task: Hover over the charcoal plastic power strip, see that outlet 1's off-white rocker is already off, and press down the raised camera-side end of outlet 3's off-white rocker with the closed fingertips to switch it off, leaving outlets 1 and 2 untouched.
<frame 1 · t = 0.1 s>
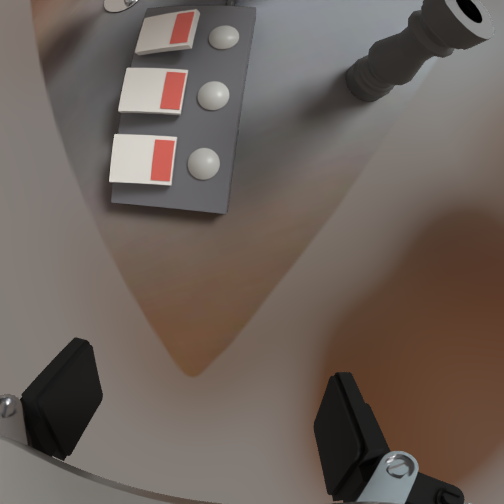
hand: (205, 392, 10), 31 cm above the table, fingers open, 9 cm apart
rocker 2: (153, 90, 30), point 5 cm above the table, hinge at -12.0°
candle holder: (364, 82, 35), on the table
rocker 3: (142, 159, 33), point 5 cm above the table, hinge at -12.0°
rocker 1: (166, 31, 28), point 5 cm above the table, hinge at 12.0°
power strip: (184, 100, 35), on the table
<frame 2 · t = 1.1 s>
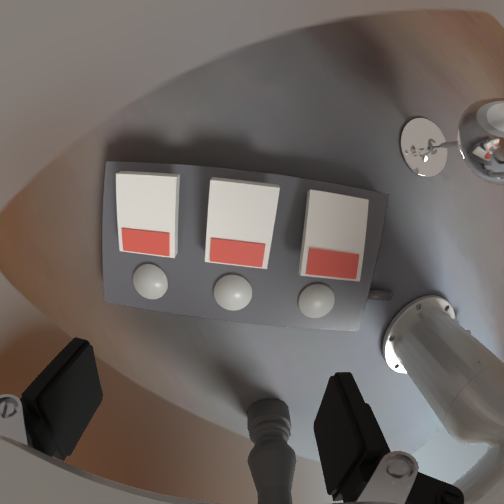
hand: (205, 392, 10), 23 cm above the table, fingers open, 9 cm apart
rocker 2: (240, 224, 27), point 5 cm above the table, hinge at -12.0°
candle holder: (268, 411, 39), on the table
rocker 3: (146, 214, 26), point 5 cm above the table, hinge at -12.0°
rocker 1: (334, 236, 27), point 5 cm above the table, hinge at 12.0°
power strip: (238, 244, 32), on the table
wineglass: (423, 147, 30), on the table
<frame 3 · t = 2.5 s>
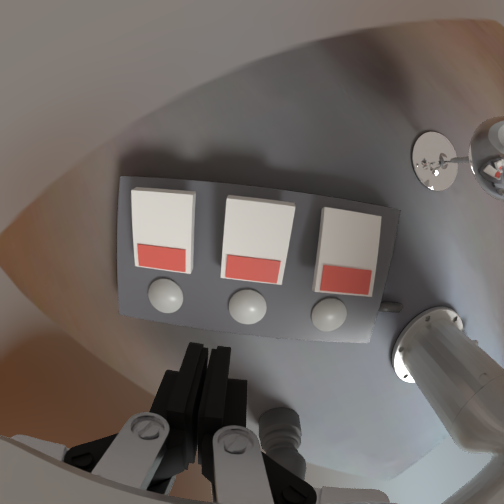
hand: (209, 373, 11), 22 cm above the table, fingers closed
rocker 2: (256, 241, 27), point 5 cm above the table, hinge at -12.0°
candle holder: (279, 420, 39), on the table
rocker 3: (162, 231, 27), point 5 cm above the table, hinge at -12.0°
rocker 1: (348, 252, 27), point 5 cm above the table, hinge at 12.0°
power strip: (253, 258, 33), on the table
wineglass: (434, 161, 30), on the table
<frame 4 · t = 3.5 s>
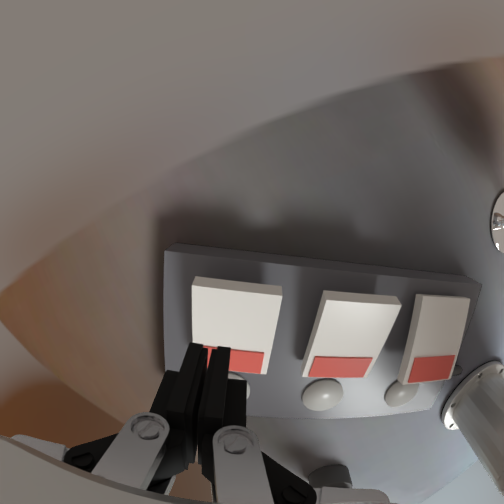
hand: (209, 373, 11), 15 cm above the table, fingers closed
rocker 2: (348, 340, 21), point 5 cm above the table, hinge at -12.0°
candle holder: (328, 474, 33), on the table
rocker 3: (233, 331, 21), point 5 cm above the table, hinge at -12.0°
rocker 1: (436, 340, 21), point 5 cm above the table, hinge at 12.0°
power strip: (327, 340, 27), on the table
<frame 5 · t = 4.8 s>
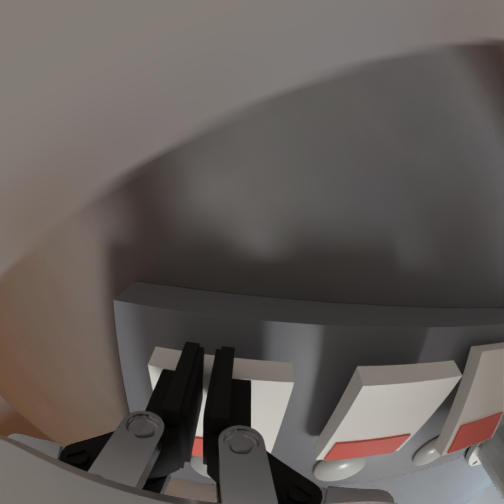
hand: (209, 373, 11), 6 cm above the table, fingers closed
rocker 2: (383, 419, 13), point 5 cm above the table, hinge at -12.0°
rocker 3: (219, 418, 13), point 5 cm above the table, hinge at -9.5°, touching gripper
rocker 1: (485, 398, 13), point 5 cm above the table, hinge at 12.0°
power strip: (348, 402, 18), on the table
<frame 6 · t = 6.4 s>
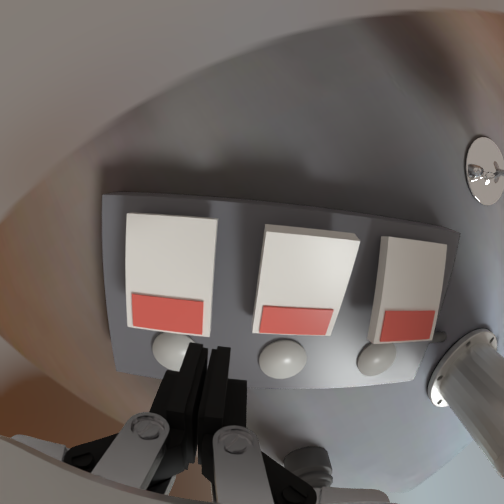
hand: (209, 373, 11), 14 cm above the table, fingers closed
rocker 2: (302, 286, 20), point 5 cm above the table, hinge at -12.0°
candle holder: (305, 457, 32), on the table
rocker 3: (169, 275, 19), point 5 cm above the table, hinge at 5.2°
rocker 1: (410, 291, 20), point 5 cm above the table, hinge at 12.0°
power strip: (285, 297, 25), on the table
wineglass: (485, 171, 23), on the table
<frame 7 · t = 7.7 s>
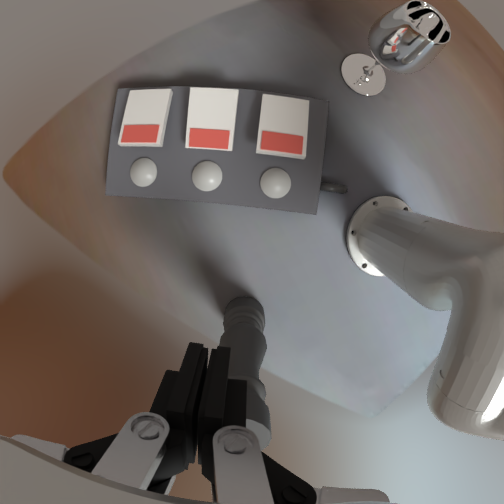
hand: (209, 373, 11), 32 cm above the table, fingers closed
rocker 2: (211, 118, 34), point 5 cm above the table, hinge at -12.0°
candle holder: (244, 313, 46), on the table
rocker 3: (145, 116, 33), point 5 cm above the table, hinge at 9.8°
rocker 1: (283, 125, 34), point 5 cm above the table, hinge at 12.0°
power strip: (213, 145, 39), on the table
wineglass: (363, 74, 36), on the table
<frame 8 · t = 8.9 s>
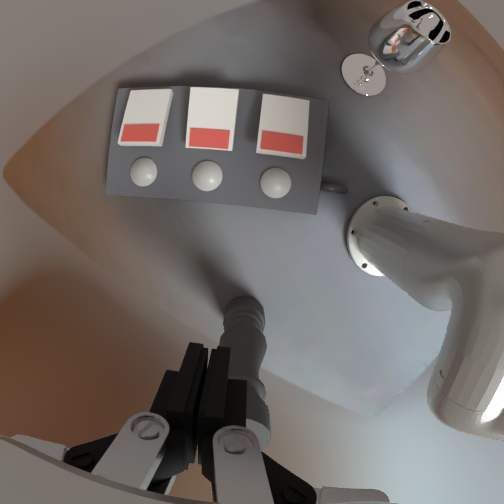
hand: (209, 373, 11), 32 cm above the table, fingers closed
rocker 2: (211, 118, 34), point 5 cm above the table, hinge at -12.0°
candle holder: (244, 313, 46), on the table
rocker 3: (145, 116, 33), point 5 cm above the table, hinge at 12.2°
rocker 1: (283, 125, 34), point 5 cm above the table, hinge at 12.0°
power strip: (214, 145, 39), on the table
wineglass: (363, 74, 36), on the table
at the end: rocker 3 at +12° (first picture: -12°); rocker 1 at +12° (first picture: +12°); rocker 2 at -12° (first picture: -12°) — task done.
